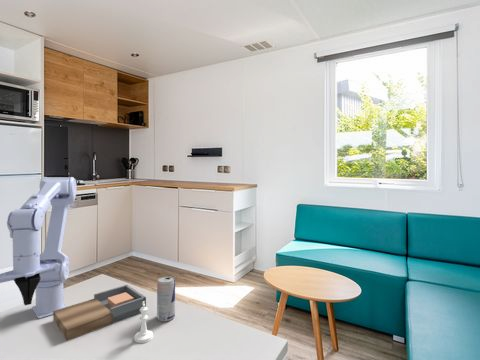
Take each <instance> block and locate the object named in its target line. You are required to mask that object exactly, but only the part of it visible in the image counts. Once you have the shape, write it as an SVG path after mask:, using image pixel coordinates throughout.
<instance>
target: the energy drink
mask: <svg viewBox="0 0 480 360" xmlns="http://www.w3.org/2000/svg"><path fill="white" fill-rule="evenodd" d="M156 288H157V289H156V290H157V291H156V300H157V301H156V304H157V305H156V317H157V320H158V321H160V322H169V321H171V320H173V319H174V318H175V316H176V279H175V277H174V276H169V275H167V276H166V275H164V276H161V277H159V278H158V279H157V283H156Z"/></svg>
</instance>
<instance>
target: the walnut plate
mask: <svg viewBox="0 0 480 360" xmlns="http://www.w3.org/2000/svg"><path fill="white" fill-rule="evenodd" d="M112 315H113V314H112ZM112 315H111V313H110V310H108V309H107V308H106V307H105V306H104V305H103V304H102V303H101V302H99V301H98V300H97V299H94V298H91V299H88V300H85V301H82V302H78V303H76V304H72V305H69V306H66V307H65V308H62V309H58V310H55V311H53V314H52V316H53V319H52V320H53V322H54V324H55V326H56V327H57V328H58V330H59V331H60V332H61V333H62V335H63V336H64V338H65V340H66V341H67V342H68V341H71V340H73V339H75V338H78V337H81V336H83V335H86V334H89V333H91V332H93V331H97V330H99V329H102V328H105V327H107V326H110V325H113V324H114V323H111V322H113V319H111V318H113V316H112ZM111 316H112V317H111ZM111 320H112V321H111Z"/></svg>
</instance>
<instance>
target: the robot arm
mask: <svg viewBox="0 0 480 360" xmlns="http://www.w3.org/2000/svg"><path fill="white" fill-rule="evenodd" d="M77 185H78V184H77V180H76V178H74V177H73V176H70V177H61V176H59V177H57V176H55V177H51V176H50V177H47V176H44V177H41V179H40V181H39V191H38V193H36V194H35V193H34V194H32V195H31V196H29V197H28V199H27V200H26V201H25V202H24V204H23V205H22V206H20V208H17V209H14V210H13V211H11V212H10V213H9V214H8V216H7V219H6V220H7V221H6V225H7V226H6V227H7V229H8V232H9V237H10V238H11V239H12V268H13V269H12V270H9V271H6V272H3V273H2V272H0V284H3V283H6V282H12V281H14V283H15V285H16V286H17V288H18V290H19V292H20V294H21V297H22V302H23V305H24V306H29V305H32V302H33V298H34V295H35V305H33V306H32V307H31V309H32V311H33V312H34V314H35V315H36V317H37V319H42V318H45V317H48V316H53V311H55V310H58V309H62V308H65V307H67V306H66V304H65V301H64V282H65V281H66V280H67V279H68V278H69V275H70V258H69V256H68V255H66V254H65V253H64V252H62V249H63V244H64V243H63V242H64V235H65V230H66V223H67V218H68V212H69V207H70V205H71V204H73V203H75V199H76V197H77V189H78V187H77ZM50 208H51V210H50V211H51V212H50V217H49V222H48V227H47V232H46V239H45V243H44V250H43V252H41V253H40V230H41V229H42V227H43V224H44V220H45V214H46V213H47V212H48V210H49V209H50Z"/></svg>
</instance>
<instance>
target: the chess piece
mask: <svg viewBox="0 0 480 360" xmlns="http://www.w3.org/2000/svg"><path fill="white" fill-rule="evenodd" d="M142 305H143V307H142V308H140V312H141V313H140V316H139V320H141V327H140V331H137V332H136V334H134V338H133V341H134V342H135V343H137V344H145V343H148V342H150V341H151V340H152V339H153V338H154V332H153V331H152V330H148V327H147V321H146V320H147V319H148V318H149V315H147V312H148V306H146V307H145V301H143V303H142Z"/></svg>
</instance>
